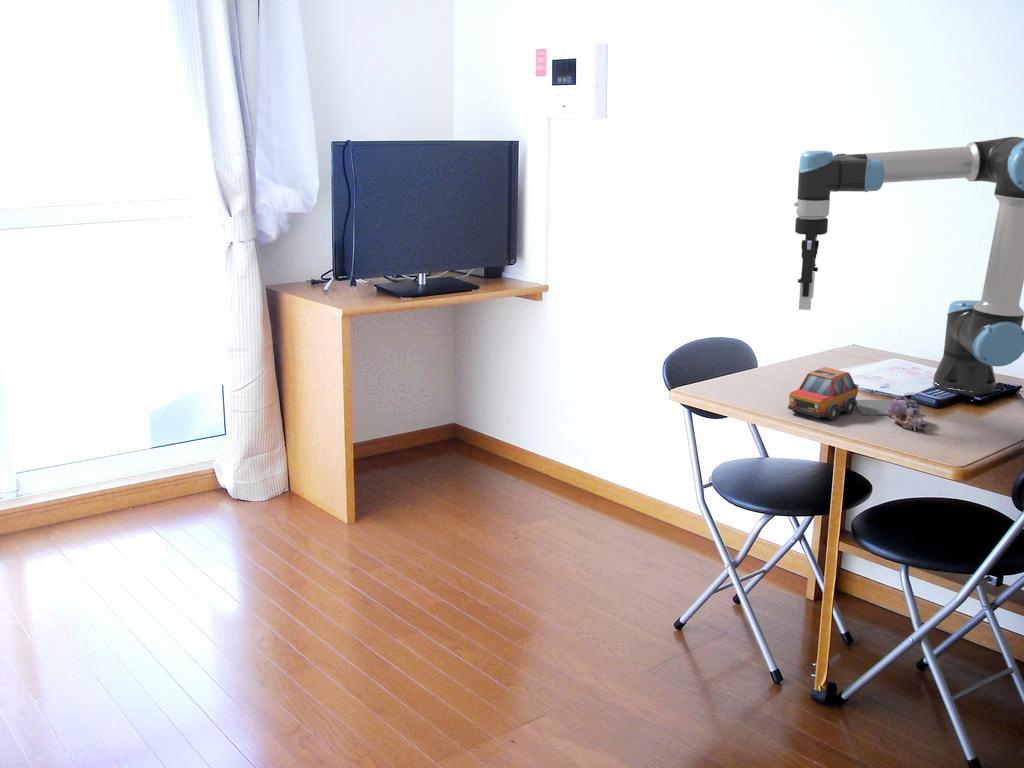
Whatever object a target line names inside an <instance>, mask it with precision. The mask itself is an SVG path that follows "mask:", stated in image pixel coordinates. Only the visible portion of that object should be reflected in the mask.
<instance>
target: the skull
mask: <svg viewBox="0 0 1024 768" xmlns="http://www.w3.org/2000/svg"><path fill="white" fill-rule="evenodd" d="M892 400H893V401H892V402H891V405H890V406H889V408H888V412H889V414H888V415H887V416H888V418H890V419H893V420H895V421H896V422H897V423H898V424H900V425H901V426H902V428H905V429H909V430H912V428H913V430H914V432H915V431H916V429H918V430H923V431H924V432H925V433H926V432H927V427H928V423H927V422H926V420H925V419H923V416H921V414H920V410H921V409H920V405H919V403H918V402H917V401H915V400H913V399H910V398H908V397H907V396H905V395H898V396H896V397H895V398H893V399H892Z"/></svg>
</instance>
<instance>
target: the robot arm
mask: <svg viewBox="0 0 1024 768" xmlns="http://www.w3.org/2000/svg"><path fill="white" fill-rule="evenodd" d="M797 172H798V181H797V185H798V186H797V196H796V197H797V199H796V200H797V202H794V204H793V206H794V207H796V211H795V214H796V215H797V216H798V217H796V218H795V227H794V231H795V233H796V234H799V235H804V236H805V238H804V239H802V241H801V259H802V262H801V263H802V264H801V274H800V275H801V276H800V278H799V279H797V283H798V284H799V285H800V286H799V300H798V310H802V311H803V310H805V311H811V307H812V299H814V292H815V291H814V287H815V277H816V272H818V270H819V267H816V259H817V255H818V250H819V248H820V247H819V246H820V245H819V244H820V240H819V239H818V240H817V238H818V235H819V236H823V235H825V234H827V233H828V227H829V226H828V225H829V218H828V216H829V215H830V202H831V193H832V192H833V193H835V192H859V193H861V192H864V193H868V192H878V191H879V190H881V189H882V187H883V184H887V183H888V184H889V183H903V182H918V181H921V182H922V181H933V180H934V181H935V180H950V179H951V180H952V179H953V180H954V179H965V180H967V181H968V182H971V183H972V182H988V183H993V184H995V187H994V194H993V195H994V197H995V198H996V199H997V201H998V209H997V214H996V220H995V225H994V230H993V235H992V240H991V247H990V251H989V256H988V257H989V258H988V262H987V268H986V273H985V278H984V282H983V288H982V294H981V299H980V300H971V299H970V300H955V301H953V302H951V303H950V304H949V307H948V311H947V313H946V315H947V316H946V317H947V319H946V329H945V337H944V347H943V348H944V349H943V354H942V355H943V356H942V358H941V360H940V361H939V364H938V366H937V368H936V370H935V373H934V375H933V381H932V384H933V386H934V387H936V388H937V389H939V390H940V391H941V390H942V391H946V392H948V393H954V394H961V395H972V396H973V395H975V396H976V395H987V394H991V393H994V392H995V390H996V384H997V380H996V376H995V372H994V367H1004V366H1008V365H1010V364H1012V363H1014V362H1015V361H1016V360H1018V359H1019V358H1020V357H1022V355H1023V354H1024V329H1023V322H1024V310H1023V308H1022V307H1021V305H1020V303H1021V297H1022V292H1023V286H1024V137H1019V136H1008V137H1001V138H1000V137H999V138H995V139H990V140H989V139H988V140H981V141H970V142H968V144H967V145H966V146H959V147H958V146H957V147H956V146H955V147H942V148H941V147H940V148H928V149H927V148H926V149H914V150H913V149H912V150H909V149H908V150H897V151H883V152H881V151H880V152H867V153H853V154H852V153H851V154H847V153H836V154H833V152H832V151H828V150H807V151H803V152H802V153H801V155H800V158H799V166H798V171H797ZM934 382H935V383H937V384H939V385H940V386H939V385H937V384H935V383H934ZM945 387H946V388H945ZM948 388H953V389H960V390H966V391H959V390H953V389H948ZM969 391H973V392H969Z"/></svg>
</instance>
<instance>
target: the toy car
mask: <svg viewBox="0 0 1024 768" xmlns="http://www.w3.org/2000/svg"><path fill="white" fill-rule="evenodd" d="M858 391H859V384H857V383H855V382H854V379H853V377H852V375H851V374H850V372H848V371H843V370H840V369H834V368H830V367H828V366H827V367H826V366H825V367H821V368H817V369H815V370H811V371H809V372H808V373H807V375H806V376H805V377H804V379H803V381H802V383H801V384H800V386H799V388H797V389H796V390H793V391H791V392H789V393H788V396H789V404H788V405H787V406H788V408H787V409H789V410H790V411H794V412H798V413H801V414H805V415H808V416H813V417H817V418H827V420H828V421H832V422H833V421H835V420H836V419H838V417H839V414H840V413H841V412H842V411H843V413H844V414H846V415H851V414H852V413H853V412H854V411H855V409H856V407H855V406H856V405H857V401H856V400H857V395H858Z"/></svg>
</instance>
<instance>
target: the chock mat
mask: <svg viewBox="0 0 1024 768" xmlns="http://www.w3.org/2000/svg"><path fill="white" fill-rule="evenodd" d="M893 400H894V399H856V401H857V405H856V406H855V409H856V410H857V411H858V413H860V415H861V416H888V414H889V412H888V408H889V406H890V405H891V402H892V401H893ZM920 414H921V416H922V417H926V413H924V412H923V411H922V410H921V409H920Z"/></svg>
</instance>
